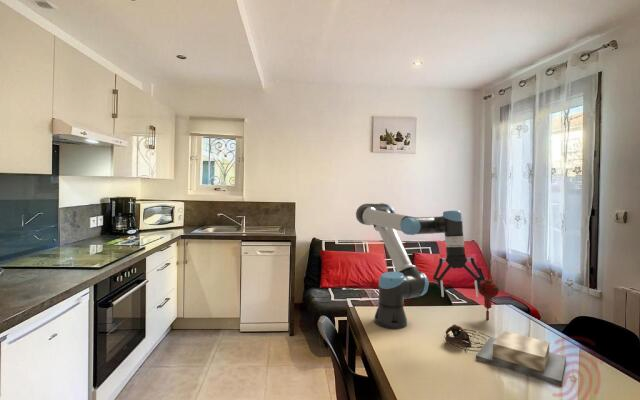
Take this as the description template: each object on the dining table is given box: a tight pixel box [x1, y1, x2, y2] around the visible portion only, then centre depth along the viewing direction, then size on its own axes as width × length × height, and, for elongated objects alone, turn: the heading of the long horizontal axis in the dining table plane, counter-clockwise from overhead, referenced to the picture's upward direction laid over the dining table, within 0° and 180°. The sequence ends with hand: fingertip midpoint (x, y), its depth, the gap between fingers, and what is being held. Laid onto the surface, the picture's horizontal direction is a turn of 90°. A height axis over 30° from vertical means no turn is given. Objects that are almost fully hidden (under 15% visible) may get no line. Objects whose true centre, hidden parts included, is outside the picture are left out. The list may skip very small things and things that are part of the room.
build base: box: [475, 330, 567, 386], centre depth 126 cm, size 26×22×6 cm
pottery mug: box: [445, 324, 472, 347], centre depth 140 cm, size 12×10×8 cm
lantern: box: [478, 271, 500, 321], centre depth 167 cm, size 10×10×30 cm
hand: (459, 296), depth 143 cm, fingers open, 13 cm apart
